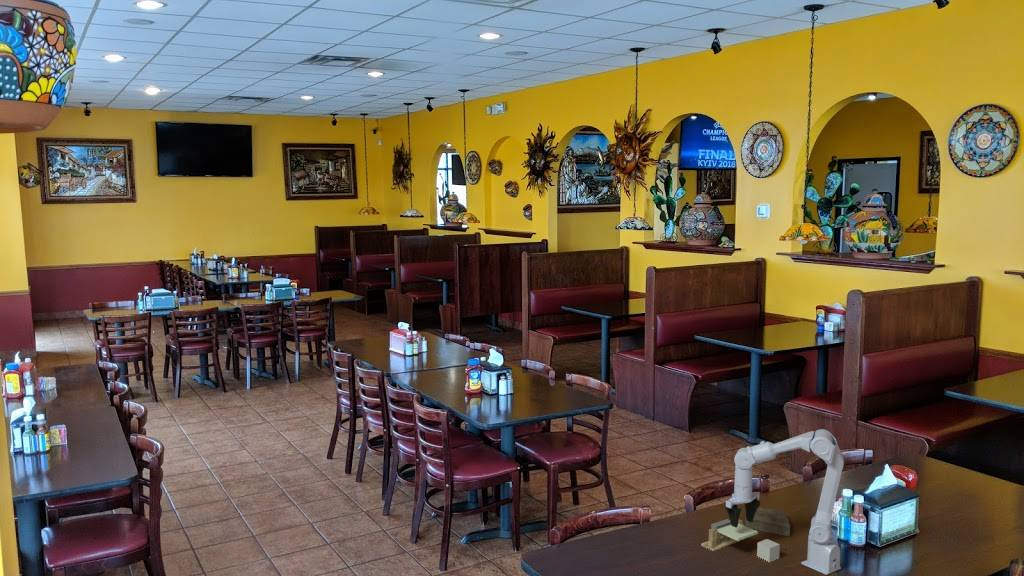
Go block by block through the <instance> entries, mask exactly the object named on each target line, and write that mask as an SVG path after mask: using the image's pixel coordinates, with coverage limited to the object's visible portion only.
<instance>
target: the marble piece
mask: <svg viewBox="0 0 1024 576" xmlns="http://www.w3.org/2000/svg"><path fill="white" fill-rule="evenodd" d="M745 515H746V511H745ZM744 519H745V526H746V527H749V528H751V529H755V530H756V531H757V530H761V531H760V532H763V531H764V532H763V533H768V532H771V533H770V534H772V533H775V534H774V535H777V534H779V535H778V536H781V535H783V537H784V536H785V537H791V525H790V521H789V518H788V517H787V515H786V512H785V511H783V510H778V509H773V508H771V509H770V508H764V507H758V508H757V510H756V513H755V516H754V519H753V522H749V521H747V520H746V518H744Z"/></svg>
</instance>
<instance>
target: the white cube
mask: <svg viewBox="0 0 1024 576" xmlns="http://www.w3.org/2000/svg"><path fill="white" fill-rule="evenodd" d="M756 546H757V547H756V548H757V549H756V557H757V556H758V557H757V558H759V557H760V558H759V559H761V558H762V559H761V560H763V559H764V560H763V561H765V560H766V561H765V562H767V561H768V562H767V563H769V562H770V563H772V562H774V560H775V561H776V559H777V560H779V559H780V548H781V547H780V546H781V544H780V543H777V542H775V541H773V540H772V539H771V540H770V539H769V538H766V539H763V540H761V541H758V542H757V545H756ZM771 561H772V562H771Z"/></svg>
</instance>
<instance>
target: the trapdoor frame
mask: <svg viewBox="0 0 1024 576" xmlns="http://www.w3.org/2000/svg"><path fill="white" fill-rule="evenodd" d="M743 522H744V521H743V520H742V519H739V521H738V523H739V524H742V525H744V523H743ZM729 525H731V524H729ZM729 525H726V526H729ZM726 526H723V527H726ZM723 527H720V528H723ZM720 528H717V529H720ZM717 529H712V528H709V529H708V541H705V542H702V543H701V545H700V546H701V547H702V548H704V549H707V548H708V549H707V550H709V549H710V550H709V551H711V550H712V551H711V552H713V551H717V550H720V549H722V547H723V548H725V546H726V547H727V546H730V545H731V546H732V545H734V544H736V542H737V543H739V542H742V541H743V540H744V539H742V541H741V540H739V541H737V540H735V539H732V538H730V537H728V536H726V535H724V534H721V533H719V532H717Z"/></svg>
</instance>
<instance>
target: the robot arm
mask: <svg viewBox="0 0 1024 576" xmlns="http://www.w3.org/2000/svg"><path fill="white" fill-rule="evenodd" d="M799 449H801V450H804V451H806V452H807V453H810V452H813V454H814V455H816V456H818V457H819V458H820V459H821V460H823V461H824V462H825V464H826V465H827V466H826V471H825V476H824V479H823V480H824V481H823V485H822V488H821V492H820V496H819V502H818V505H817V509H816V513H815V514H814V516H813V517H812V518H811V521H810V528H809V530H808V531H809V533H808V537H807V538H808V539H807V555H806V556H807V557H806V558H807V559H806V560H803V561H801V562H800V563H801V565H803V566H805V567H808V568H810V569H812V570H814V571H817V572H818V573H822V574H823V575H825V576H826V575H829V574H832V573H835V572H836V571H839V570H841V569H842V567H841V547H840V546H839V545H837V544H836V543H835V542H834V541H833V537H832V536H831V531H832V524H833V523H832V515H833V513H834V511H833V510H834V506H835V503H836V499H837V494H838V490H839V486H840V482H841V477H842V474H843V469H844V464H845V461H844V460H845V459H844V456H843V454H842V452H841V448H840V447H839V445H838V441H837V439H836V437H835V436H834V435H833V434H832V432H830V431H829V430H827V429H823V428H822V429H821V428H820V429H817V430H816V431H814V430H811V431H807V432H804V433H803V434H802V433H801V434H799V435H796V436H793V437H791V438H787V439H785V440H782V441H778V442H775V443H772V442H770V441H766V442H765V440H762V441H760V443H759V444H756V445H753V446H750V445H748V446H746V447H741V448H739V449H738V450H737V451H736V454H735V456H734V458H733V459H734V460H733V461H734V464H735V466H734V468H735V470H734V484H733V487H734V488H733V493H731V497H730V498H729V499H728V500H725V504H724V508H725V510H726V512H727V514H728V517H729V520H730V522H731V526H733V527H738V521H739V518H740V516H741V512H742V511H743V509H742V508H739V507H738V505H742V504H744V509H745V512H746V514H745V519H746V520H747V521H749V522H753V519H754V516H755V513H756V510H757V508H760V506H761V502H760V493H758V492H756V491H753V477H754V476H753V473H754V472H753V465H757V464H760V463H764V462H768V461H771V460H775V459H776V458H777V455H778V454H782V453H787V452H791V451H795V450H799ZM746 520H745V521H746Z"/></svg>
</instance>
